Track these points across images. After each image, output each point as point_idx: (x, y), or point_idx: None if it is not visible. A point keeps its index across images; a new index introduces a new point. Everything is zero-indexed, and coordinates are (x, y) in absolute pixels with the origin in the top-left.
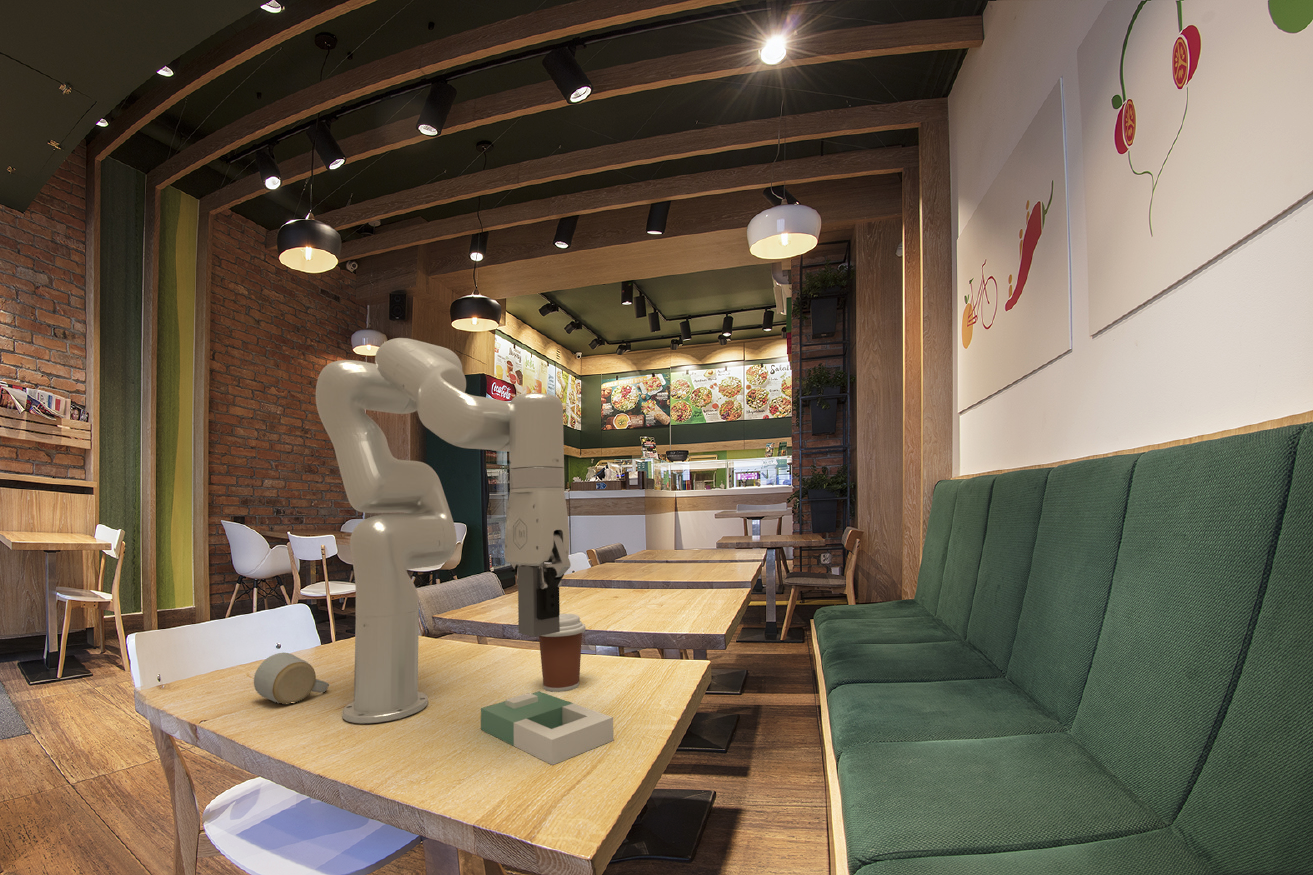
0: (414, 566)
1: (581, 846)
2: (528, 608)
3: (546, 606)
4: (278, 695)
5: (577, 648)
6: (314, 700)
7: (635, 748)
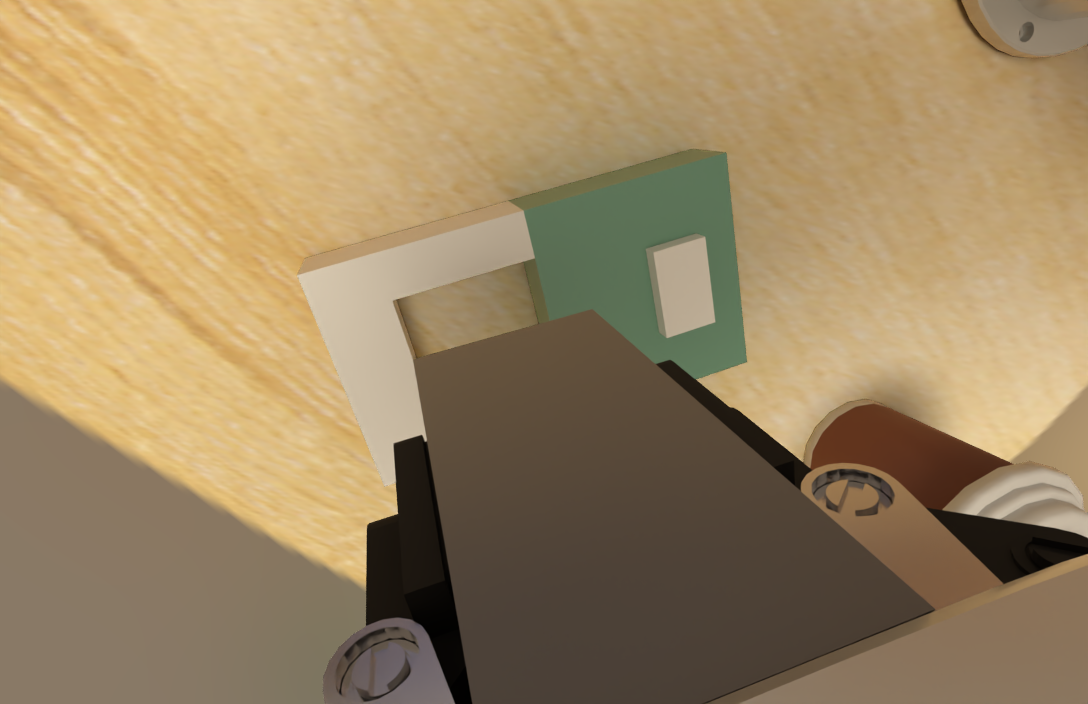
0: None
1: None
2: (508, 416)
3: (379, 540)
4: None
5: None
6: None
7: (297, 484)
